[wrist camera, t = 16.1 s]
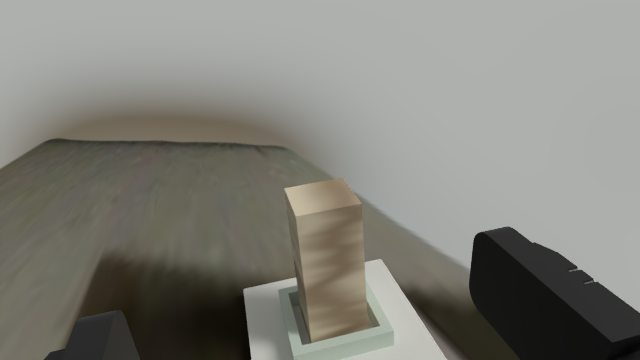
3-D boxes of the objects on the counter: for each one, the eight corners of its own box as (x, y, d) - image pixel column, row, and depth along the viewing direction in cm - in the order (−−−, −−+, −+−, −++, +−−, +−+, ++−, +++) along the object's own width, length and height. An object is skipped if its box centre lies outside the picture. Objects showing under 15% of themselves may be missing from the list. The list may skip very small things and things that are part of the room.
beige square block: (312, 350, 33) (295, 216, 28) (300, 310, 37) (284, 188, 32) (368, 335, 34) (361, 203, 29) (350, 298, 38) (342, 177, 33)
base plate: (260, 430, 28) (255, 404, 27) (244, 297, 41) (240, 276, 40) (450, 376, 31) (452, 351, 30) (381, 266, 43) (380, 246, 42)
